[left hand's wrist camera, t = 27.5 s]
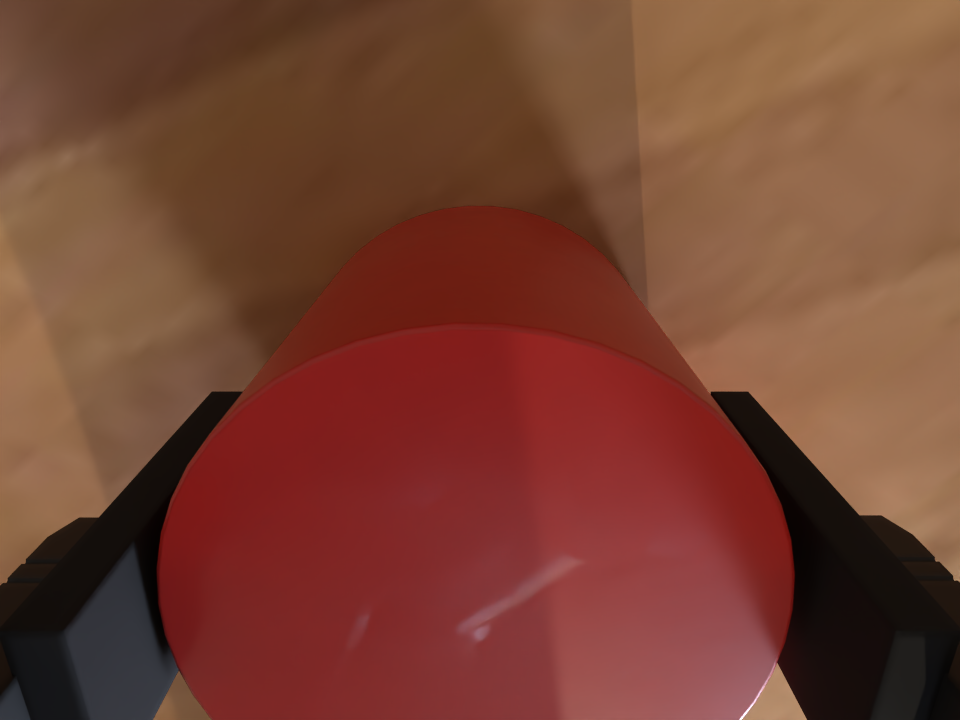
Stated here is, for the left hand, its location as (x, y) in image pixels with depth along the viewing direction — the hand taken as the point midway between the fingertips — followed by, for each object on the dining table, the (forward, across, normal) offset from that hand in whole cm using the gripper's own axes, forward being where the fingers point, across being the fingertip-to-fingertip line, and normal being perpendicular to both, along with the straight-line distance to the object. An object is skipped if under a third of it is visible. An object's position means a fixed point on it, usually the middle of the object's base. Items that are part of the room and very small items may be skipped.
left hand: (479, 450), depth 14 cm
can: (+4, 0, 0) cm, 4 cm away
